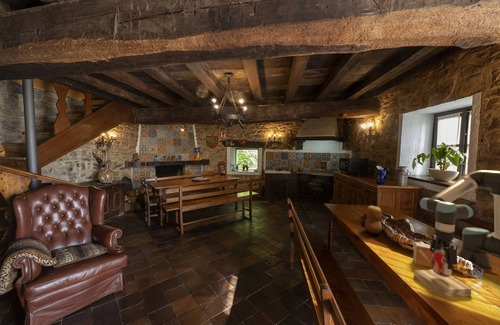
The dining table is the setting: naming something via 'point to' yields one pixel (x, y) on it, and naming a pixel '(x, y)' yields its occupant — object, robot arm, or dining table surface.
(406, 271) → the dining table surface
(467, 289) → the square wooden board
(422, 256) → the small box
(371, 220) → the butternut squash
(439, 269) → the soda can
